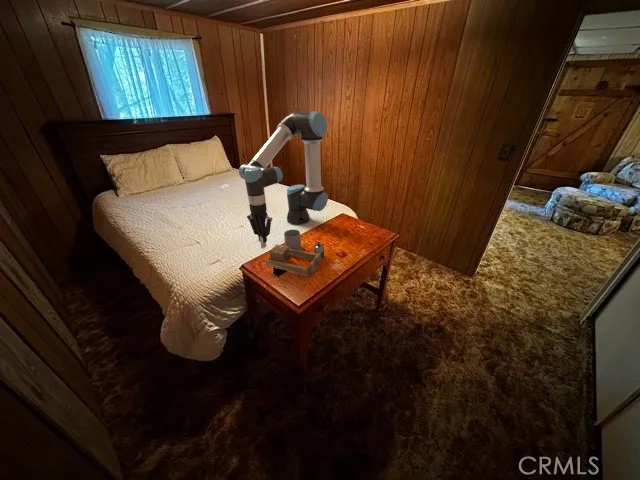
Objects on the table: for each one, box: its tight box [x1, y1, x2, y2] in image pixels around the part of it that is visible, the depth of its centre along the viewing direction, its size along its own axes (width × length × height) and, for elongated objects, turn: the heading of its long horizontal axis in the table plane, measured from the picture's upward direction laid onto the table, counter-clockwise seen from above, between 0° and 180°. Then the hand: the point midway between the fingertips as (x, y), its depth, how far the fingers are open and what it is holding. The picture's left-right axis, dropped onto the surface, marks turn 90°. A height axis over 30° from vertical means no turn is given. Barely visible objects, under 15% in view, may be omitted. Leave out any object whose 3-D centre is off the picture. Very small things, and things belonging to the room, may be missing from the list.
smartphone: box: [272, 268, 288, 278], centre depth 123 cm, size 7×1×15 cm
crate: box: [269, 244, 291, 264], centre depth 126 cm, size 7×7×7 cm
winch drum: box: [313, 241, 325, 259], centre depth 128 cm, size 5×5×8 cm
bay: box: [265, 248, 323, 278], centre depth 124 cm, size 14×24×5 cm, turn 69°
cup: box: [283, 229, 302, 251], centre depth 135 cm, size 8×8×10 cm
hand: (264, 247), depth 127 cm, fingers closed
